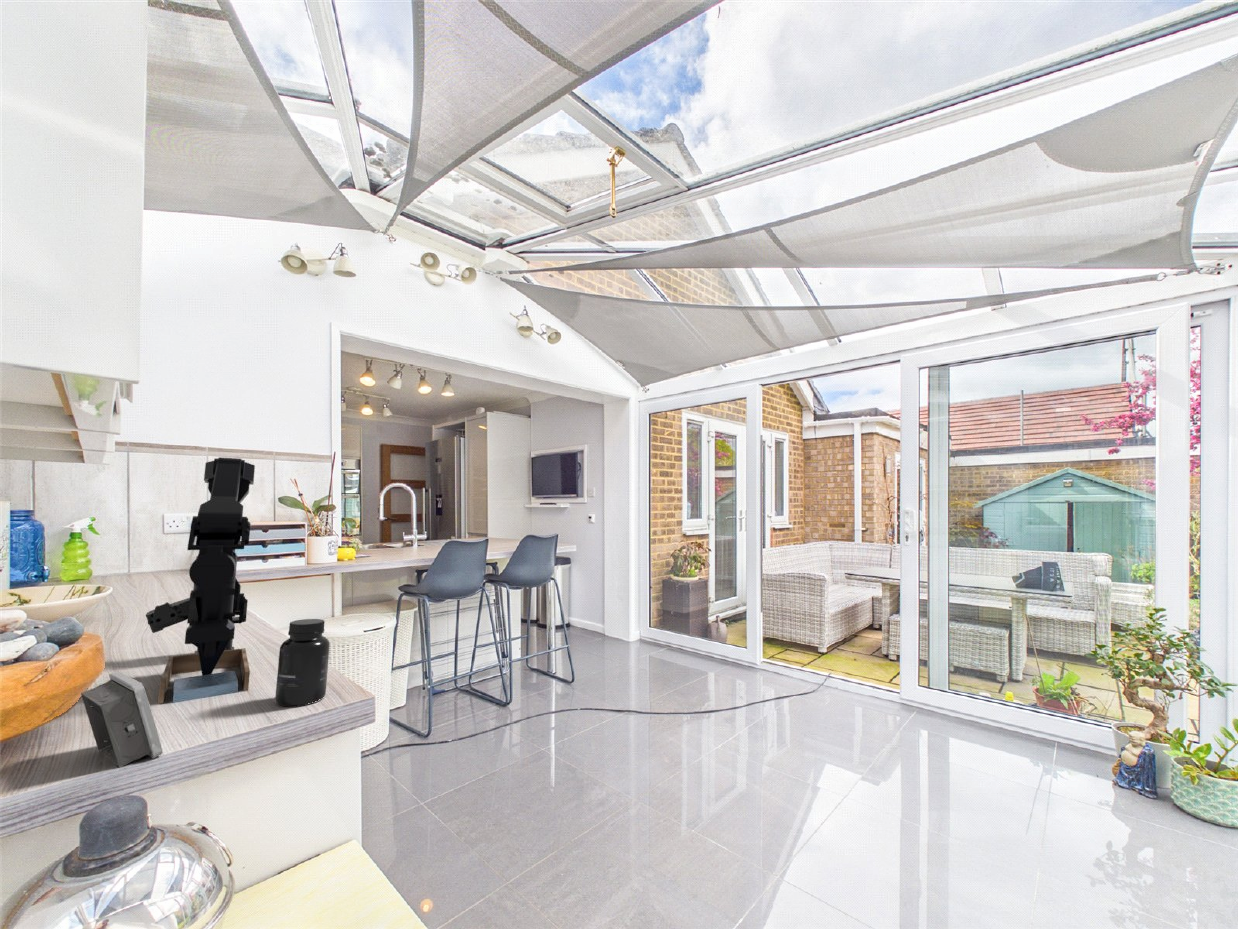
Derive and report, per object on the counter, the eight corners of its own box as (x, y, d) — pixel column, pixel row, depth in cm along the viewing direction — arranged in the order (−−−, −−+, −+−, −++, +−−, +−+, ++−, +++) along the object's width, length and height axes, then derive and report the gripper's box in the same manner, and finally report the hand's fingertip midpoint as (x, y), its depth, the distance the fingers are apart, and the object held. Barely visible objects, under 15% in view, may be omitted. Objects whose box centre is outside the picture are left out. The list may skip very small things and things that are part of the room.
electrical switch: (164, 757, 62) (162, 678, 63) (104, 780, 58) (102, 695, 58) (136, 739, 68) (135, 666, 68) (80, 758, 63) (78, 680, 63)
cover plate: (173, 692, 86) (174, 679, 87) (233, 682, 91) (234, 670, 92) (172, 705, 80) (173, 692, 80) (237, 694, 85) (238, 682, 86)
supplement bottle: (270, 710, 78) (276, 627, 79) (280, 695, 84) (285, 618, 85) (323, 704, 80) (328, 624, 82) (328, 691, 87) (333, 616, 88)
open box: (167, 674, 94) (169, 656, 95) (244, 664, 101) (245, 648, 101) (157, 704, 80) (159, 683, 80) (248, 690, 86) (249, 671, 87)
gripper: (158, 580, 94) (149, 671, 92) (147, 592, 79) (135, 700, 77) (235, 576, 101) (228, 661, 99) (238, 587, 86) (229, 687, 84)
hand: (206, 676), depth 90 cm, fingers closed
